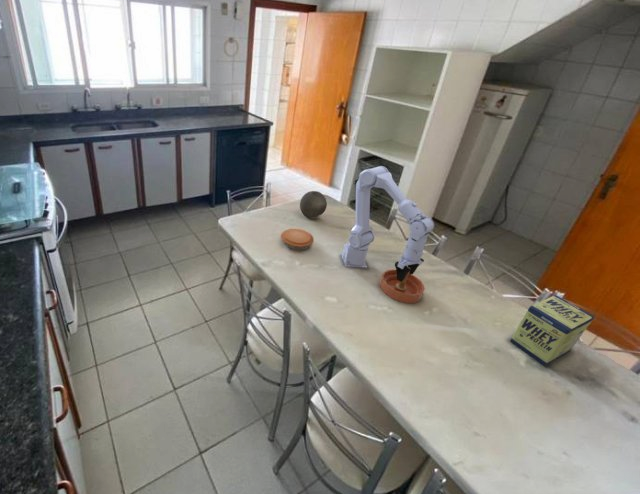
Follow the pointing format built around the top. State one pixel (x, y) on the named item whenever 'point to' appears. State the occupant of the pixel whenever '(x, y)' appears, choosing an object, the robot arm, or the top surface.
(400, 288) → the masher
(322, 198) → the grey stone ball
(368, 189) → the robot arm
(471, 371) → the top surface
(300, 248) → the pie
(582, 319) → the protein box
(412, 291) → the bowl
